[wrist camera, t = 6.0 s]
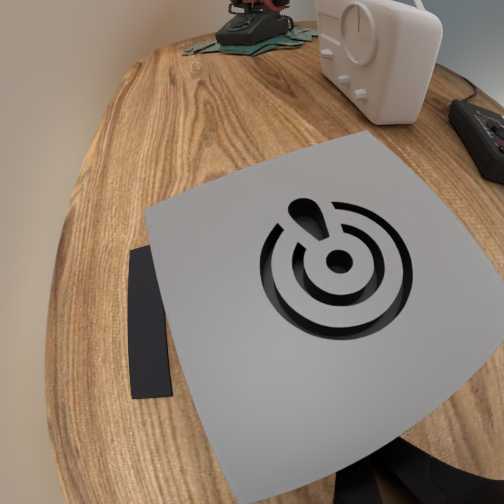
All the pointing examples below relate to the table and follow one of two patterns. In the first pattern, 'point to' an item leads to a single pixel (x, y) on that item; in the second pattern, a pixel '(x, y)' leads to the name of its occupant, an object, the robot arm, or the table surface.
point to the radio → (379, 54)
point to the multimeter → (481, 137)
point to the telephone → (256, 29)
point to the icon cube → (319, 308)
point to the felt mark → (146, 329)
